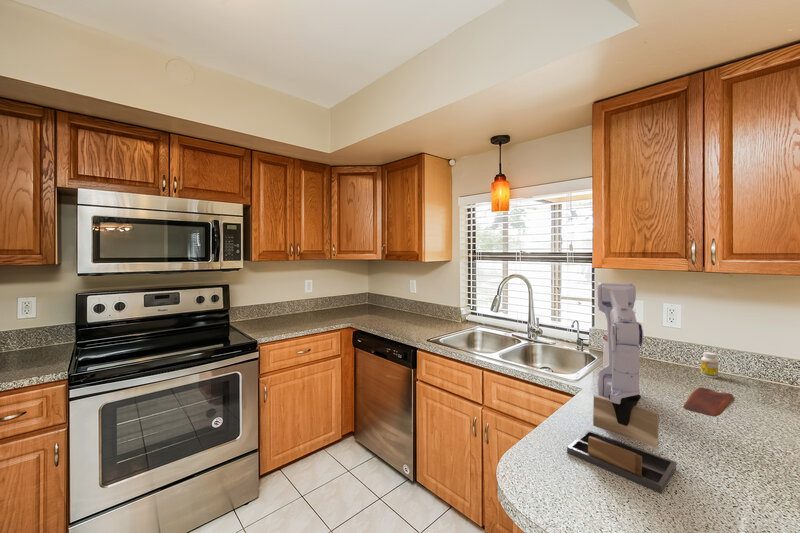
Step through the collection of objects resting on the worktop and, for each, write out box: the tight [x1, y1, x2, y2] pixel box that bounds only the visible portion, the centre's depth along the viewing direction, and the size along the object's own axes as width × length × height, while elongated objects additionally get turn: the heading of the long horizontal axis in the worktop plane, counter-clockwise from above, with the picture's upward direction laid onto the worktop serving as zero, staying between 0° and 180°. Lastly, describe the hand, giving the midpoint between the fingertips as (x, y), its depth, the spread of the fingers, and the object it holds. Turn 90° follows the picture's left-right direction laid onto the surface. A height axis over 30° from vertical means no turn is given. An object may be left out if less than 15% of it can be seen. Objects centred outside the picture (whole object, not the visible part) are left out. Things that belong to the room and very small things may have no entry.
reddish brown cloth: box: [683, 387, 733, 417], centre depth 120 cm, size 27×10×2 cm, turn 128°
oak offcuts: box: [588, 436, 642, 476], centre depth 84 cm, size 3×11×6 cm, turn 40°
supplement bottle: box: [700, 351, 719, 379], centre depth 144 cm, size 5×5×10 cm
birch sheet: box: [592, 394, 660, 449], centre depth 88 cm, size 2×14×8 cm, turn 40°
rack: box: [566, 429, 677, 494], centre depth 86 cm, size 13×20×2 cm, turn 40°
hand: (624, 422), depth 88 cm, fingers closed on birch sheet, 1 cm apart
